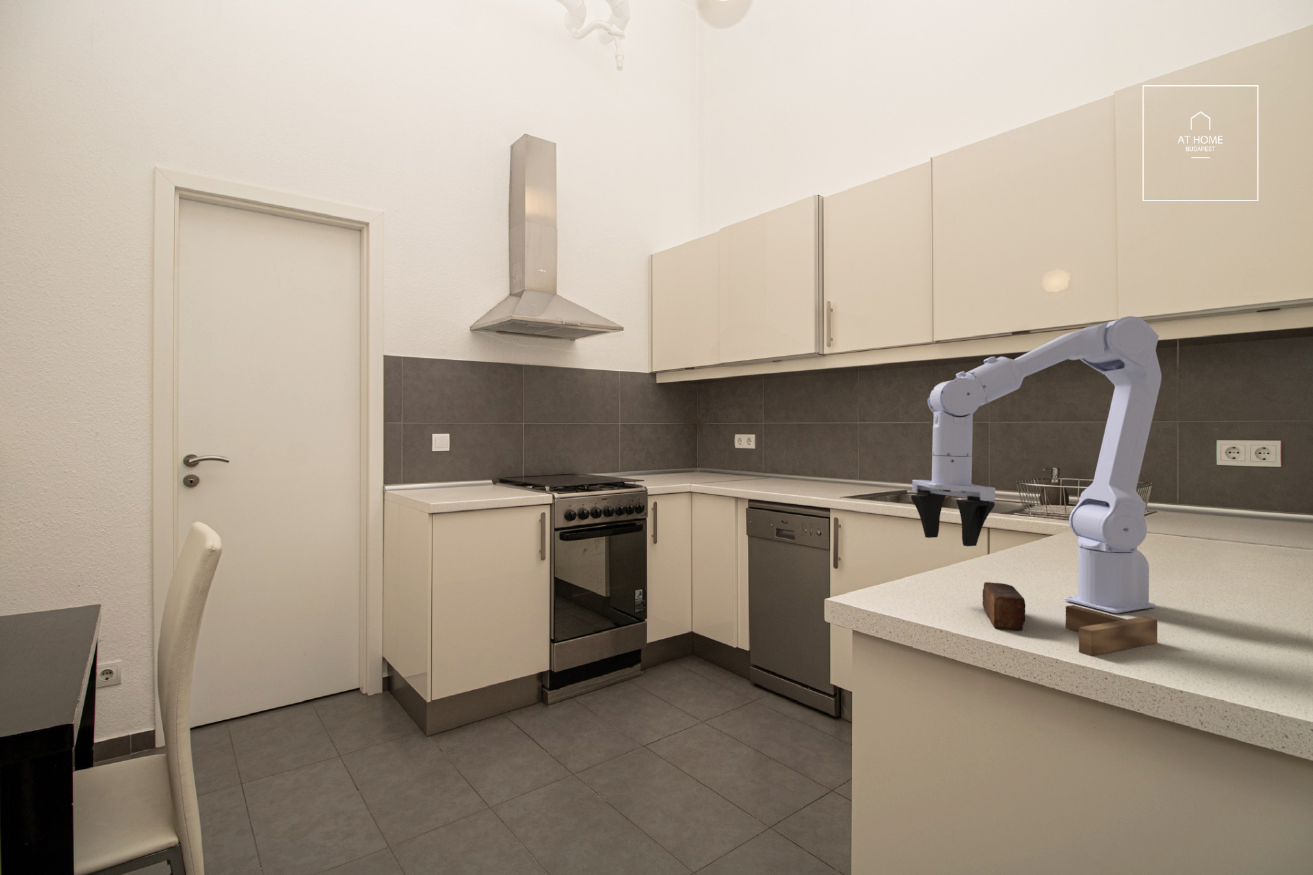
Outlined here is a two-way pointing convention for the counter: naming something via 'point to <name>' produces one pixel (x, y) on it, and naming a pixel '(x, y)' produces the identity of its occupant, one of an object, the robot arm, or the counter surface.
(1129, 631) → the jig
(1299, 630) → the counter surface
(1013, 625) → the brick
